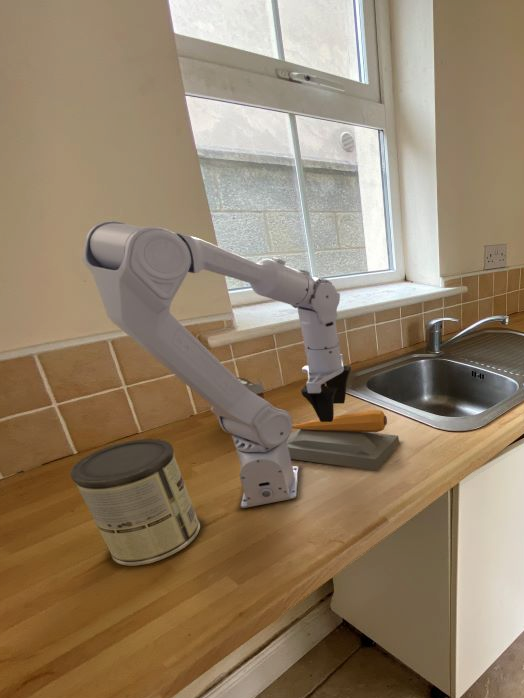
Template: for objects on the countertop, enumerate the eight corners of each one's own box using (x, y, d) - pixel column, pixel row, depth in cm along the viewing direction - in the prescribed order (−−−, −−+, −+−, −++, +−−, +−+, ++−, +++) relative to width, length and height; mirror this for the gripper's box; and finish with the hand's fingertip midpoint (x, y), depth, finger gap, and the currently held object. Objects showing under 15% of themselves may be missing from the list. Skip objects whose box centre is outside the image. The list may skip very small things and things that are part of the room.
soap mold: (376, 470, 83) (374, 454, 81) (276, 456, 85) (273, 440, 83) (399, 442, 92) (398, 427, 90) (308, 430, 94) (306, 416, 92)
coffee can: (103, 541, 64) (62, 459, 58) (187, 507, 72) (159, 430, 65) (121, 579, 58) (78, 492, 52) (211, 538, 66) (183, 457, 60)
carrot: (389, 430, 91) (387, 408, 90) (383, 432, 86) (381, 409, 86) (288, 437, 90) (286, 415, 89) (277, 440, 85) (274, 417, 85)
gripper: (312, 332, 87) (323, 395, 93) (282, 358, 74) (297, 430, 80) (350, 332, 87) (358, 395, 93) (326, 359, 74) (338, 429, 80)
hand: (333, 411), depth 87 cm, fingers open, 7 cm apart
